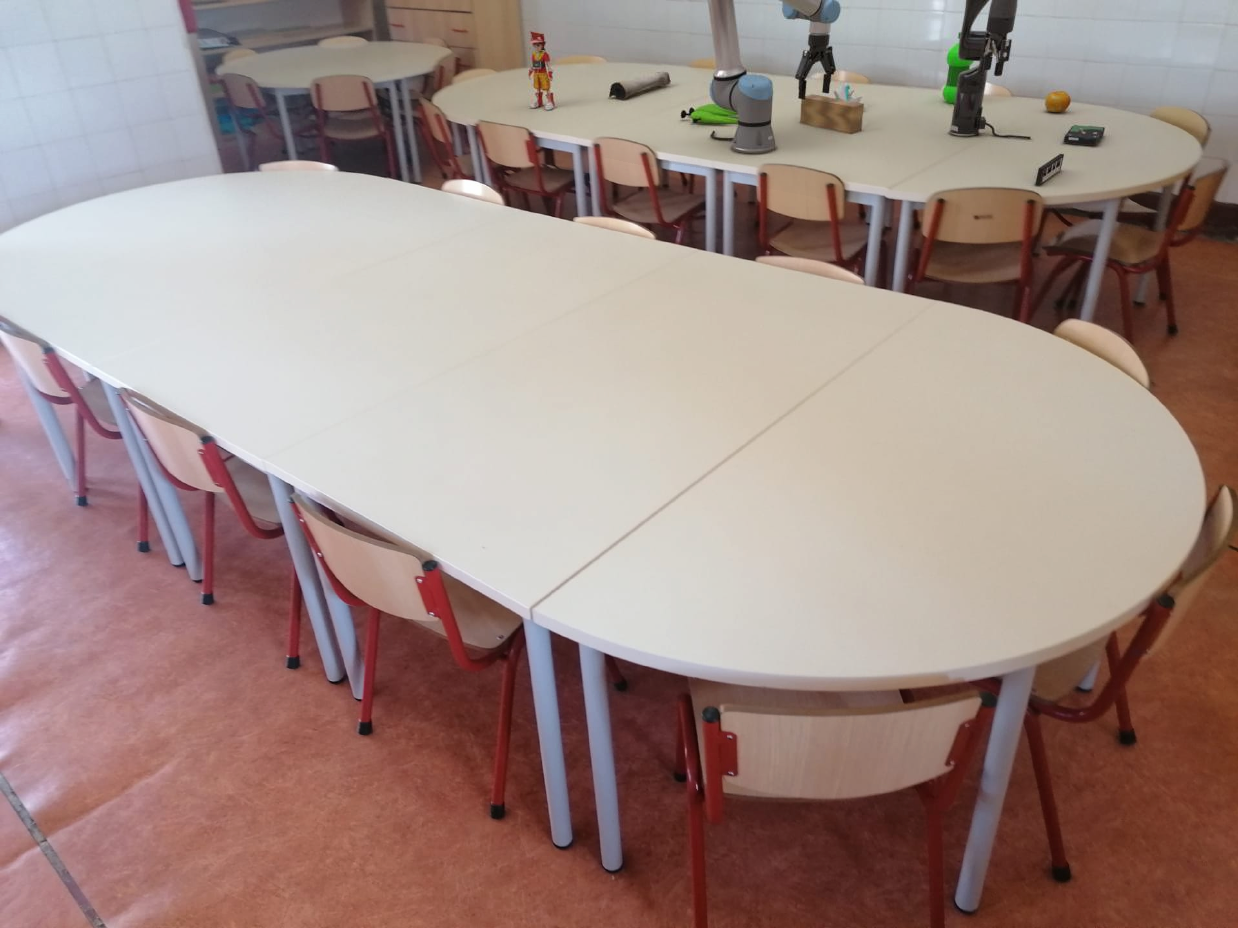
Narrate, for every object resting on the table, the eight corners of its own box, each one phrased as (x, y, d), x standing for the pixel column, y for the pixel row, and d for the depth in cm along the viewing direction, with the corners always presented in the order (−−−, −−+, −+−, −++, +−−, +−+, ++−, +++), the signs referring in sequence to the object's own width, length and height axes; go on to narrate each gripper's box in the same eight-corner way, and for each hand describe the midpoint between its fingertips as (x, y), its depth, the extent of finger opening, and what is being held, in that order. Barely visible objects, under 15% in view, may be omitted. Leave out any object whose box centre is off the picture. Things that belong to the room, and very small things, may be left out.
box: (861, 130, 329) (863, 103, 324) (850, 133, 326) (853, 107, 321) (810, 119, 345) (812, 94, 340) (799, 122, 342) (801, 97, 337)
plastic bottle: (973, 101, 354) (984, 32, 339) (955, 106, 349) (966, 36, 335) (952, 97, 361) (962, 29, 346) (934, 102, 356) (944, 33, 342)
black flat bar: (1039, 185, 269) (1043, 168, 266) (1035, 184, 270) (1038, 168, 267) (1060, 170, 279) (1064, 154, 277) (1056, 169, 280) (1060, 153, 277)
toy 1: (525, 109, 381) (517, 32, 364) (534, 104, 388) (527, 28, 371) (550, 110, 377) (543, 32, 360) (559, 105, 384) (553, 28, 367)
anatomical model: (829, 82, 357) (854, 75, 356) (832, 108, 363) (856, 101, 362) (839, 90, 345) (865, 83, 344) (842, 117, 351) (867, 111, 350)
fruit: (1041, 103, 332) (1056, 84, 329) (1039, 107, 340) (1054, 87, 337) (1060, 116, 331) (1076, 96, 328) (1058, 119, 339) (1073, 100, 335)
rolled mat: (651, 76, 408) (662, 61, 399) (662, 93, 408) (674, 79, 400) (605, 92, 391) (616, 77, 383) (617, 110, 391) (628, 95, 383)
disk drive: (1096, 147, 298) (1103, 135, 308) (1098, 138, 296) (1105, 126, 306) (1062, 144, 302) (1070, 132, 312) (1064, 135, 301) (1072, 124, 311)
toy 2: (670, 122, 346) (740, 135, 334) (671, 108, 344) (742, 120, 331) (703, 111, 367) (770, 123, 354) (704, 98, 364) (772, 109, 351)
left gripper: (833, 28, 332) (827, 89, 344) (788, 37, 319) (783, 100, 331) (849, 30, 327) (843, 92, 339) (804, 39, 314) (799, 103, 326)
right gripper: (980, 11, 271) (970, 69, 280) (999, 19, 259) (989, 78, 268) (1004, 10, 271) (994, 67, 280) (1025, 17, 259) (1013, 77, 268)
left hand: (813, 96), depth 335 cm, fingers open, 13 cm apart
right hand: (992, 73), depth 274 cm, fingers open, 8 cm apart
